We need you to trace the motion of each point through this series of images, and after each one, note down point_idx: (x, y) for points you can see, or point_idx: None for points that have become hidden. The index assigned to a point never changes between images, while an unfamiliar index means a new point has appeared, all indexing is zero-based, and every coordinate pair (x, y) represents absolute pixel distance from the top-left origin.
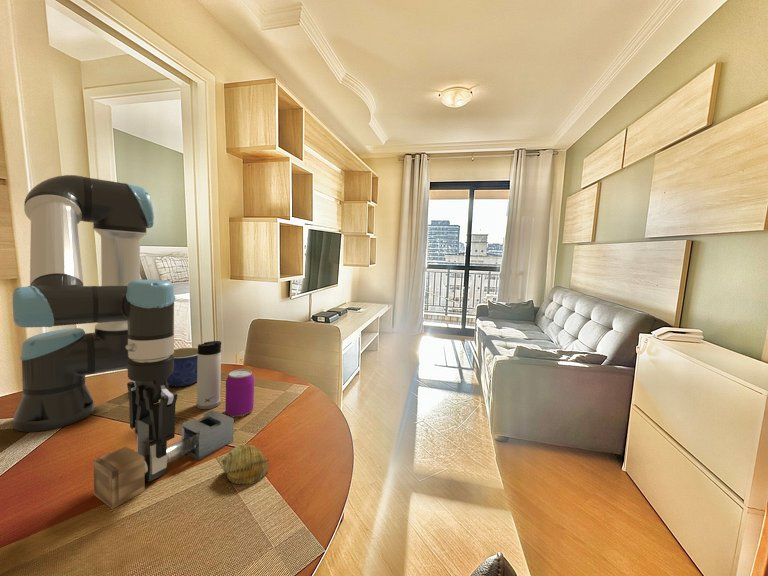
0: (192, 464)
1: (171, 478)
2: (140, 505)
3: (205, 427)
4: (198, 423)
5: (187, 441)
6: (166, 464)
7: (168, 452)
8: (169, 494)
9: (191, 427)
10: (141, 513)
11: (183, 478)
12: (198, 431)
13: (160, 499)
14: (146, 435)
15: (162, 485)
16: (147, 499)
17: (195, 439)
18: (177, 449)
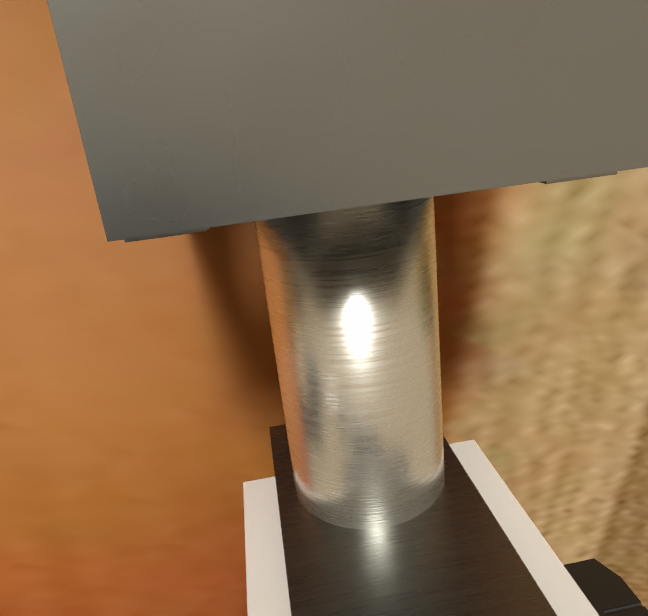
0: (460, 207)
1: (487, 380)
2: (562, 557)
3: (640, 16)
4: (373, 17)
5: (414, 250)
6: (483, 455)
7: (436, 456)
8: (620, 438)
9: (412, 198)
10: (622, 565)
11: (559, 327)
12: (611, 168)
13: (612, 482)
14: None
15: (506, 440)
16: (550, 525)
17: None
18: (439, 370)
